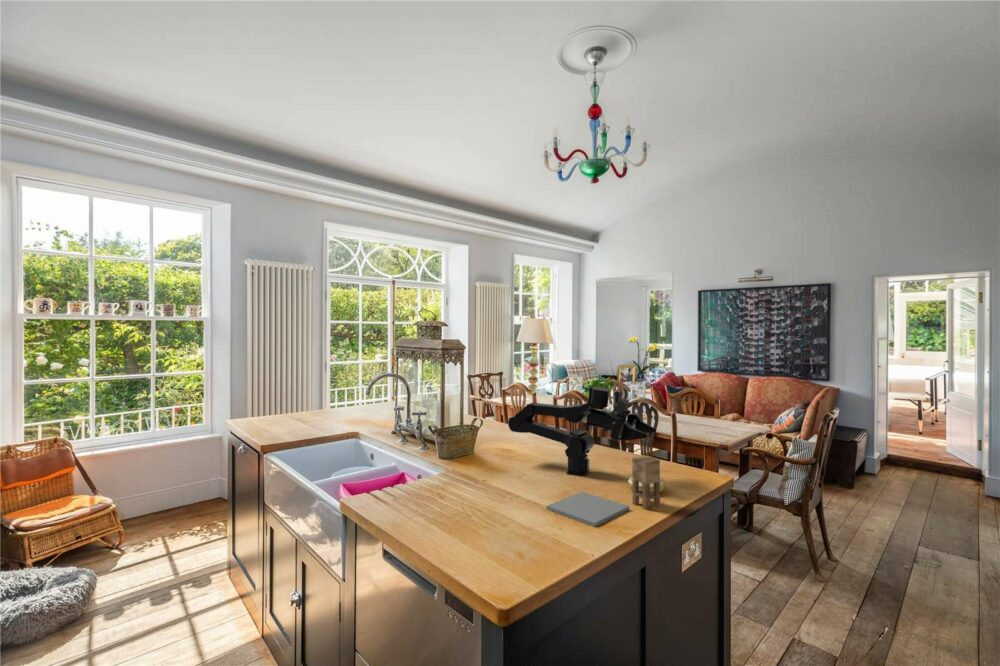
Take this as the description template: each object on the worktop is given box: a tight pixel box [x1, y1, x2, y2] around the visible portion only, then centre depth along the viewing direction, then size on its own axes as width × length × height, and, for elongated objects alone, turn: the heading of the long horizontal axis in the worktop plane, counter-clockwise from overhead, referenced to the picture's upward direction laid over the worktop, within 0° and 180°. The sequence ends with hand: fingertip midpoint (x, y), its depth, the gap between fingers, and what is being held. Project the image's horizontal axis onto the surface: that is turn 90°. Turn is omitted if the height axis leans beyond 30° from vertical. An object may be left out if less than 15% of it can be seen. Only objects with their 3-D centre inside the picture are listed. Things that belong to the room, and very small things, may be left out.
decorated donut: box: [627, 476, 665, 495], centre depth 142 cm, size 10×11×4 cm
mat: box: [546, 491, 630, 528], centre depth 127 cm, size 16×16×1 cm
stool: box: [631, 455, 661, 511], centre depth 130 cm, size 5×5×13 cm
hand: (651, 433), depth 146 cm, fingers open, 9 cm apart
